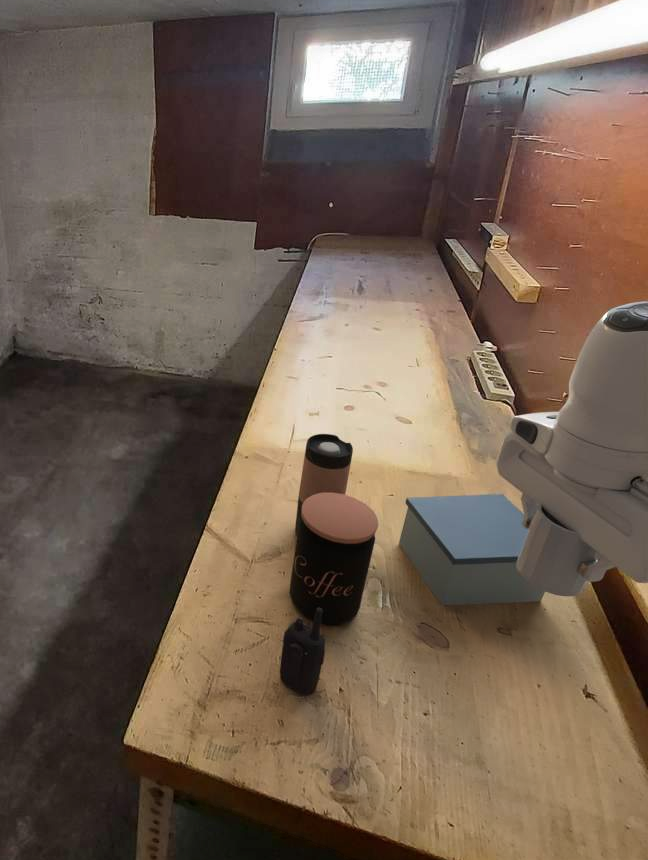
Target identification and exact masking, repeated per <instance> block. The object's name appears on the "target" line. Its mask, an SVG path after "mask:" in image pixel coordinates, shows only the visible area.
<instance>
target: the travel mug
mask: <svg viewBox="0 0 648 860" xmlns="http://www.w3.org/2000/svg"><path fill="white" fill-rule="evenodd" d="M353 452H354V447H353V445H352V443H351V442H345V441H343V440H342V439H340V438H339V436H338V435H335V434H331V433H317V434H314V435H312V436H310V437H308V439H307V440H306V445H305V451H304V458H303V464H302V470H301V477H300V482H299V489H298V497H297V507H296V518H295V526H294V527H295V529H294V531H295V532H294V533H295V537H296V538H297V533H298V526H299V520H300V517H301V510H302V504H303V503H304V501H305V500H306V499H307V498H309V497H310V496H312V495H315V494H319V493H338V494H344V495H346V493H347V486H348V482H349V476H350V471H351V470H350V469H351V464H352V457H353Z"/></svg>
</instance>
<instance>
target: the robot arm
mask: <svg viewBox="0 0 648 860" xmlns="http://www.w3.org/2000/svg"><path fill="white" fill-rule="evenodd" d="M568 381H569V382H568V398H567V400H566V402H565V403H564V405H563V406H562V407H561V408H560V409H559V411H541V412H532V413H531V412H530V413H525V414H519V415H515V416H513V417H512V418H511V420H510V423H509V429H510V432H508V433H507V434H506V435H505V437H504V439H503V441H502V443H501V446H500V448H499V451H498V455H497V458H496V462H495V465H496V470H497V473H498V475H499V476H500V477H501V478H503V479H504V480H505V481H506V482H508V483H509V484H510V485H511V486H513V487H514V488H515V489H517V490H518V491H519V492H520V493H522V494H521V497H520V501H521V505H522V511H523V514H524V515H525V516H524V519H523V522H522V525H523V526H524V527H525V528H526V529H527V530H528V529H529V526H530V523H531V521H532V518H533V515H534V513H535V510H536V507H537V504H538V503H540V504H541V505H542V509H543V510H545V511H546V512H547V513H549V514H550V515H551V516H552V517H554V518H555V519H556V520H557V521H559V522H560V523H561V524H562V525H564V526H565V527H566V528H568V529H569V530H571V531H574V532H577V533H578V534H580V538H581V539H582V540H583V541H584V542H585V543H587V544H588V545H589V546H590V547H592V548H593V549H594V550H595V551H597V552H596V554H595V558H596V559H597V560H596V559H595V560H590V561H581V562H580V564H579V568H578V569H577V572H578V573H579V574H580V575H581V576H583V577H584V578H585V579H586V580H587V581H588V582H589V583H594V582H600V581H601V580H603V578H604V576H605V574H606V572H607V571H608V570H610V569H614V568H617V569H618V570H619V571H620V572H622V573H623V574H624V575H626V576H627V577H628V578H629V579H631V580H632V581H634V582H636V583H638V584H648V301H647V300H645V301H636V302H630V303H626V304H622V305H618V306H615V307H613V308H611V309H609V310H608V311H607V312H606V313H604V314H603V315H602V316H601V318H600V319H599V320H598V321H597V322H596V324H595V325H594V327H593V328H592V330H591V331H590V332H589V334H588V335H587V338H586V340H585V342H584V344H583V345H582V348H581V350H580V352H579V354H578V357H577V359H576V361H575V364H574V367H573V370H572V373H571V375H570V378H569V380H568ZM588 582H587V583H588Z"/></svg>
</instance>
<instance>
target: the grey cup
mask: <svg viewBox="0 0 648 860" xmlns="http://www.w3.org/2000/svg"><path fill="white" fill-rule="evenodd" d="M596 552H597V551H595V550H594V549H593V548H592V547H590V546H589V545H588V544H587V543H585V542H584V541H583V540H582V539H581V538H580V534H578V533H577V532H574V531H571V530H569V529H568V528H566V527H565V526H564V525H562V524H561V523H560V522H559V521H557V520H556V519H555V518H554V517H552V516H551V515H550V514H549V513H547V512H546V511H545V510H543V509H542V505H541V504H540V503H538V504H537V507H536V510H535V513H534V515H533V518H532V521H531V523H530V526H529V529H528V531H527V534H526V537H525V540H524V542H523V545H522V548H521V550H520V553H519V556H518V560H517V563H516V567H517V570H518V572H519V573H520V575H521V576H522V577H523V578H524V579H525V580H526V581H527V582H529V583H530V584H532V585H533V586H535V587H537V588H538V589H540V590H543V591H545V593H548V594H551V595H554V596H559V597H576V596H578V595H580V594H582V592H583V591H584V589H585V588H586V587H587V584H588V581H587V580H586V579H585V578H584V577H583V576H581V575H580V574H579V573H578V572H577V569H578V568H579V564H580V562H581V561H590V560H595V559H596V558H595V554H596ZM596 560H597V559H596ZM597 561H598V560H597Z"/></svg>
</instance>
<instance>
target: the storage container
mask: <svg viewBox="0 0 648 860" xmlns="http://www.w3.org/2000/svg"><path fill="white" fill-rule="evenodd" d="M405 505H406V506H407V509H406V513H405V518H404V521H403V525H402V529H401V533H400V536H399V540H398V545H399V547H400V549H401V550H402V551H403V553H404V555H406V557H407V558H408V560H409V561H410V563H411V565H413V567H414V568H415V570H416V571H417V573H418V575H419V576H420V578H421V579H422V580H423V582H424V583H425V585H426V586H427V587H428V589H429V590H430V592H431V593H432V594H433V596H434V598H435V599H436V600H437V602H438V603H439V605H440V606H459V605H482V604H483V605H484V604H509V603H531V602H532V603H533V602H542V600H543V598H544V595H545V593H546V592H545V591H543V590H540V589H538V588H537V587H535V586H533V585H532V584H530V583H529V582H527V581H526V580H525V579H524V578H523V577H522V576H521V575H520V573H519V572H518V570H517V567H516V563H517V560H518V556H519V553H520V550H521V548H522V545H523V542H524V540H525V537H526V534H527V531H528V530H527V529H526V528H525V527H524V526H523V525H522V522H523V519H524V516H525V514H524V512H522V510H520V508H518V507H517V506H516V505H515V504H514V503H513V502H512V501H511V500H510V499H509V498H508V497H506V495H504V494H503V493H490V494H489V493H488V494H464V495H443V496H417V497H414V496H413V497H406V500H405Z"/></svg>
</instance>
